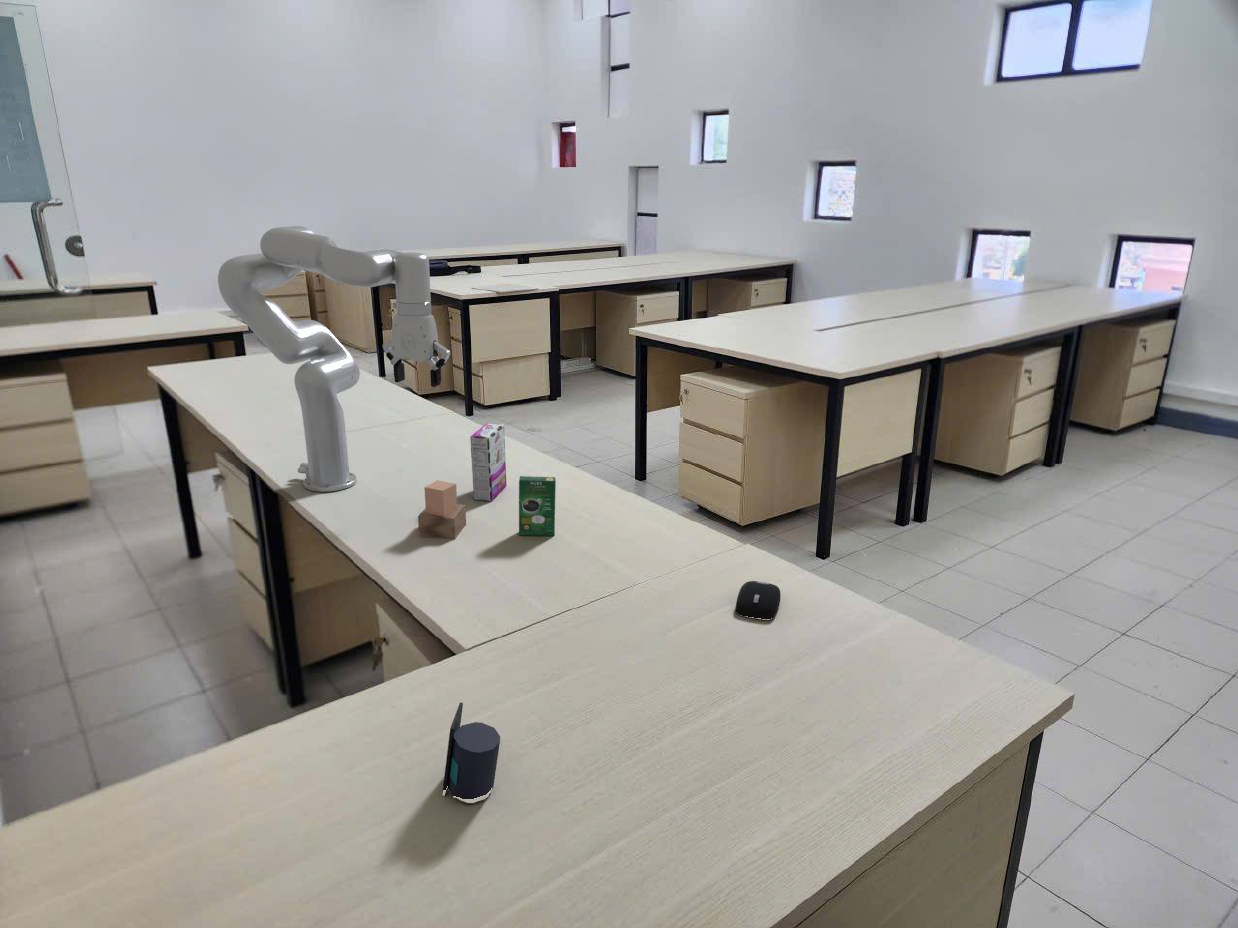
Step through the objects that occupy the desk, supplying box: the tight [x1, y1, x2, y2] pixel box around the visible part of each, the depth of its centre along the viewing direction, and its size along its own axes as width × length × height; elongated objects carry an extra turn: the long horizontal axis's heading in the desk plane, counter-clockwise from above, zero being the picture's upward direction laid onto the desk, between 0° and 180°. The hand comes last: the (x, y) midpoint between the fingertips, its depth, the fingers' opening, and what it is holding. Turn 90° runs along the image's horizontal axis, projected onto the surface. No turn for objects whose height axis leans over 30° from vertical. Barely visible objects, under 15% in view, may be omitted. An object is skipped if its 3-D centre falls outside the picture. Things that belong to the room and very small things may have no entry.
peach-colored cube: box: [424, 479, 458, 517], centre depth 177 cm, size 5×5×6 cm
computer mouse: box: [735, 580, 781, 619], centre depth 151 cm, size 8×12×4 cm, turn 160°
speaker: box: [442, 702, 501, 799], centre depth 103 cm, size 8×6×10 cm
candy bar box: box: [470, 422, 507, 502], centre depth 199 cm, size 11×5×16 cm, turn 168°
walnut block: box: [417, 503, 467, 540], centre depth 179 cm, size 8×8×5 cm
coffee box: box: [518, 475, 557, 537], centre depth 177 cm, size 8×3×13 cm, turn 92°
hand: (417, 383), depth 190 cm, fingers open, 9 cm apart
